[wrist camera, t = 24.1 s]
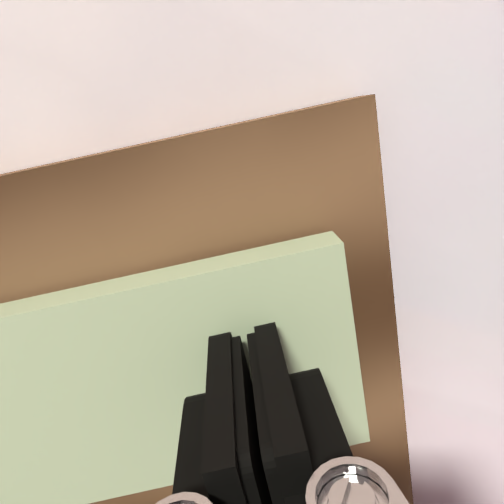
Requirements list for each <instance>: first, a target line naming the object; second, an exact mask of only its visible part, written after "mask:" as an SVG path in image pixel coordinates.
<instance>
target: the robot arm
mask: <svg viewBox="0 0 504 504" xmlns="http://www.w3.org/2000/svg"><path fill="white" fill-rule="evenodd" d="M254 331H255V332H254V333H250V334H247V343H248V351H249V360H250V368H251V377H252V381H251V377H250V373H249V369H248V365H247V361H246V357H245V353H244V348H243V344H242V341H241V337H240V336H236V337H232V334H231V332H227V333H222V334H218V335H213V336H209V338H208V354H207V373H206V392H205V393H202V394H197V395H193V396H188V397H186V398H185V399H184V404H183V411H182V419H181V427H180V435H179V443H178V451H177V459H176V467H175V475H174V482H173V490H172V495H170V496H168V497H166V498H164V499H162V500H160V501H158V502H157V503H156V504H409V502H408V501H407V499H406V498H405V496H404V495H403V493H402V492H401V490H400V489H399V487H398V486H397V484H396V483H395V481H394V480H393V479H392V477H391V476H390V475H389V474H388V473H387V472H386V471H385V470H384V469H383V468H382V467H380V466H379V465H377V464H376V463H374V462H372V461H370V460H367V459H364V458H361V457H353V454H352V451H351V449H350V446H349V444H348V441H347V438H346V436H345V433H344V431H343V428H342V426H341V423H340V420H339V418H338V415H337V413H336V410H335V407H334V405H333V402H332V400H331V397H330V395H329V392H328V389H327V387H326V384H325V382H324V379H323V376H322V374H321V372H320V369H319V368H315V369H310V370H306V371H301V372H297V373H292V374H289V373H288V369H287V366H286V362H285V358H284V354H283V350H282V346H281V343H280V339H279V335H278V331H277V327H276V324H275V322H272V323H268V324H263V325H259V326H254Z"/></svg>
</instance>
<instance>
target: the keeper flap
mask: <svg viewBox="0 0 504 504" xmlns="http://www.w3.org/2000/svg"><path fill="white" fill-rule="evenodd" d="M272 322H275V324H276V327H277V331H278V335H279V339H280V343H281V346H282V350H283V354H284V358H285V362H286V366H287V369H288V373H289V374H292V373H297V372H301V371H306V370H310V369H315V368H319V369H320V372H321V374H322V376H323V379H324V382H325V384H326V387H327V389H328V392H329V395H330V397H331V400H332V402H333V405H334V407H335V410H336V413H337V415H338V418H339V420H340V423H341V426H342V428H343V431H344V433H345V436H346V438H347V441H348V444H349V446H351V445H356V444H360V443H365V442H369V441H370V436H369V428H368V421H367V413H366V406H365V398H364V391H363V384H362V376H361V369H360V361H359V354H358V346H357V339H356V331H355V324H354V317H353V309H352V302H351V294H350V287H349V279H348V272H347V264H346V257H345V249H344V243H343V242H342V241H341V239H340V238H339V237H338V236H337V235H336V234H335V233H334V232H333V231H329V232H324V233H320V234H315V235H311V236H306V237H302V238H297V239H292V240H288V241H283V242H279V243H274V244H270V245H265V246H261V247H256V248H251V249H247V250H242V251H238V252H233V253H229V254H224V255H220V256H215V257H210V258H206V259H201V260H197V261H192V262H188V263H183V264H179V265H174V266H169V267H165V268H160V269H156V270H151V271H147V272H142V273H138V274H133V275H128V276H124V277H119V278H115V279H110V280H106V281H101V282H97V283H92V284H87V285H83V286H78V287H74V288H69V289H65V290H60V291H56V292H51V293H46V294H42V295H37V296H33V297H28V298H24V299H19V300H15V301H10V302H5V303H1V304H0V504H89V503H94V502H98V501H103V500H107V499H112V498H116V497H121V496H125V495H130V494H134V493H139V492H143V491H148V490H152V489H157V488H161V487H166V486H170V485H173V482H174V475H175V467H176V459H177V451H178V443H179V435H180V427H181V419H182V411H183V404H184V399H185V398H186V397H188V396H193V395H197V394H202V393H205V392H206V373H207V354H208V338H209V336H213V335H218V334H222V333H227V332H231V334H232V337H236V336H240V337H241V341H242V344H243V348H244V353H245V357H246V361H247V365H248V369H249V373H250V377H251V368H250V360H249V351H248V343H247V334H250V333H254V332H255V331H254V326H259V325H263V324H268V323H272ZM251 381H252V377H251Z"/></svg>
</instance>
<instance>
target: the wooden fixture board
mask: <svg viewBox="0 0 504 504" xmlns="http://www.w3.org/2000/svg"><path fill="white" fill-rule="evenodd" d="M329 231H333V232H334V233H335V234H336V235H337V236H338V237H339V238H340V239H341V241H342V242H343V243H344V249H345V257H346V264H347V272H348V279H349V287H350V294H351V302H352V309H353V317H354V324H355V331H356V339H357V346H358V354H359V361H360V369H361V376H362V384H363V391H364V398H365V406H366V413H367V421H368V428H369V436H370V441H369V442H365V443H360V444H356V445H351V446H350V449H351V451H352V454H353V457H361V458H364V459H367V460H370V461H372V462H374V463H376V464H377V465H379V466H380V467H382V468H383V469H384V470H385V471H386V472H387V473H388V474H389V475H390V476H391V477H392V479H393V480H394V481H395V483H396V484H397V486H398V487H399V489H400V490H401V492H402V493H403V495H404V496H405V498H406V499H407V501H408V502H409V504H413V496H412V485H411V475H410V464H409V453H408V443H407V432H406V421H405V410H404V400H403V389H402V378H401V368H400V357H399V346H398V336H397V325H396V314H395V304H394V293H393V282H392V272H391V261H390V250H389V240H388V229H387V218H386V207H385V197H384V186H383V175H382V165H381V154H380V143H379V133H378V122H377V111H376V101H375V94H373V95H365V96H357V97H353V98H348V99H344V100H339V101H335V102H330V103H325V104H321V105H316V106H312V107H307V108H303V109H298V110H293V111H289V112H284V113H280V114H275V115H271V116H266V117H261V118H257V119H252V120H248V121H243V122H238V123H234V124H229V125H225V126H220V127H216V128H211V129H206V130H202V131H197V132H193V133H188V134H184V135H179V136H174V137H170V138H165V139H161V140H156V141H151V142H147V143H142V144H138V145H133V146H129V147H124V148H119V149H115V150H110V151H106V152H101V153H97V154H92V155H87V156H83V157H78V158H74V159H69V160H64V161H60V162H55V163H51V164H46V165H42V166H37V167H32V168H28V169H23V170H19V171H14V172H10V173H5V174H0V304H1V303H5V302H10V301H15V300H19V299H24V298H28V297H33V296H37V295H42V294H46V293H51V292H56V291H60V290H65V289H69V288H74V287H78V286H83V285H87V284H92V283H97V282H101V281H106V280H110V279H115V278H119V277H124V276H128V275H133V274H138V273H142V272H147V271H151V270H156V269H160V268H165V267H169V266H174V265H179V264H183V263H188V262H192V261H197V260H201V259H206V258H210V257H215V256H220V255H224V254H229V253H233V252H238V251H242V250H247V249H251V248H256V247H261V246H265V245H270V244H274V243H279V242H283V241H288V240H292V239H297V238H302V237H306V236H311V235H315V234H320V233H324V232H329ZM172 490H173V485H170V486H166V487H161V488H157V489H152V490H148V491H143V492H139V493H134V494H130V495H125V496H121V497H116V498H112V499H107V500H103V501H98V502H94V503H89V504H156V503H157V502H158V501H160V500H162V499H164V498H166V497H168V496H170V495H172Z"/></svg>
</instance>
